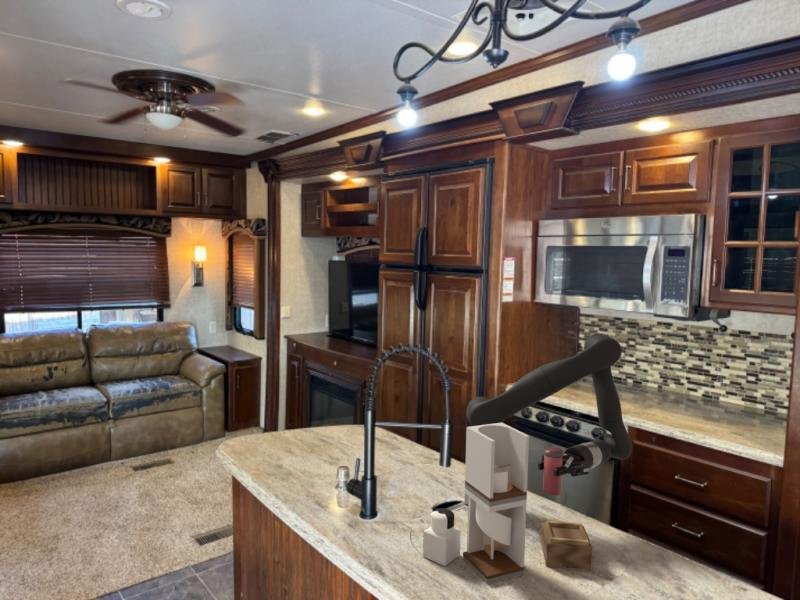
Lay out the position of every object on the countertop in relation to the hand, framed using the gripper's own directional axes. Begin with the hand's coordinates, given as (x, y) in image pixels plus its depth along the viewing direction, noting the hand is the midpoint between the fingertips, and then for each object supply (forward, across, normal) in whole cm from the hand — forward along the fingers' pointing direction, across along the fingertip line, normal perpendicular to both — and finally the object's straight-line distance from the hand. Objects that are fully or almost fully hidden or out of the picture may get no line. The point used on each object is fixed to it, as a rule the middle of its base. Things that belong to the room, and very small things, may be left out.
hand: (547, 469), depth 155 cm
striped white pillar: (+24, +3, +19) cm, 31 cm away
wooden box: (+5, +11, +19) cm, 22 cm away
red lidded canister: (-3, 0, +7) cm, 7 cm away
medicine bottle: (+31, -8, +19) cm, 38 cm away
